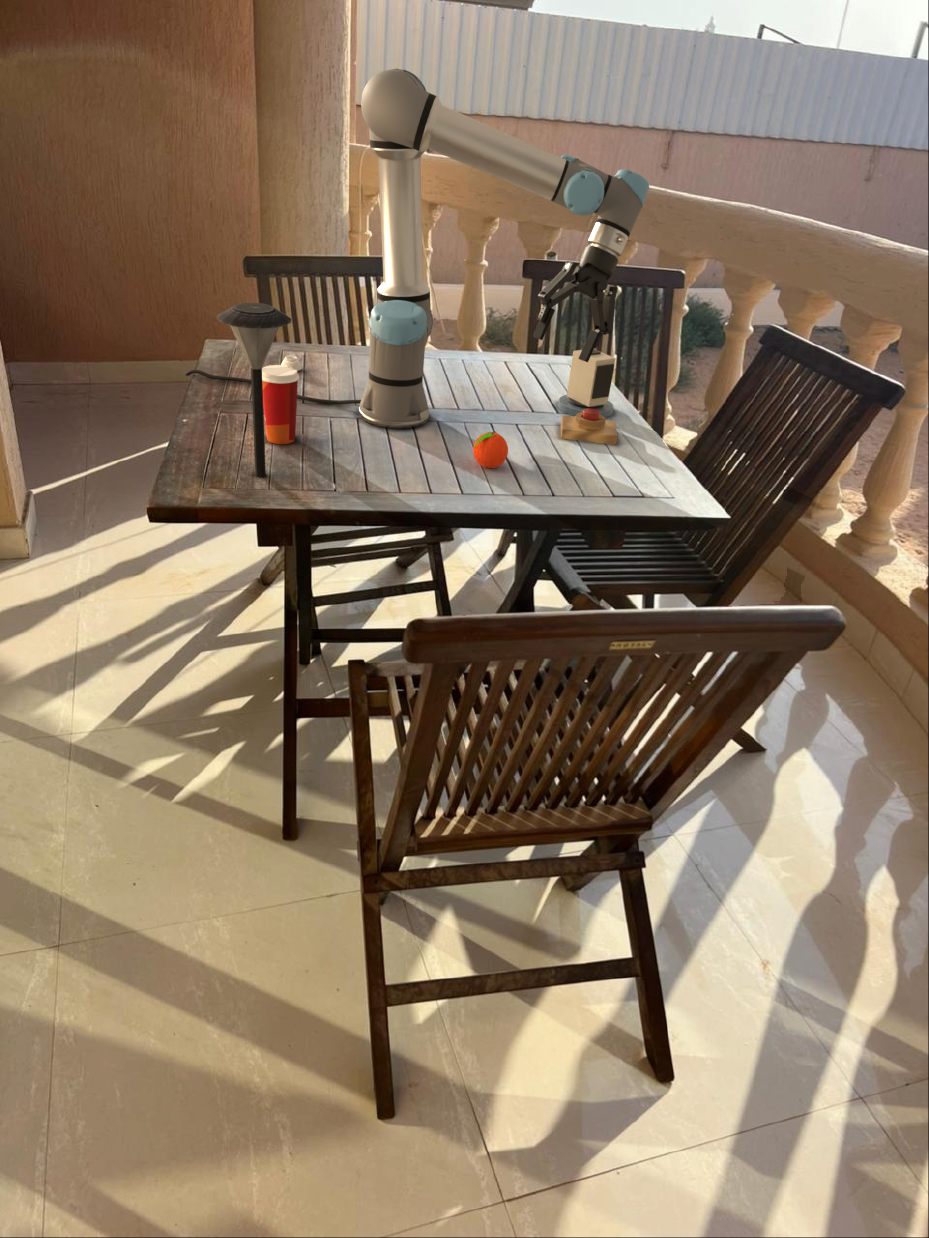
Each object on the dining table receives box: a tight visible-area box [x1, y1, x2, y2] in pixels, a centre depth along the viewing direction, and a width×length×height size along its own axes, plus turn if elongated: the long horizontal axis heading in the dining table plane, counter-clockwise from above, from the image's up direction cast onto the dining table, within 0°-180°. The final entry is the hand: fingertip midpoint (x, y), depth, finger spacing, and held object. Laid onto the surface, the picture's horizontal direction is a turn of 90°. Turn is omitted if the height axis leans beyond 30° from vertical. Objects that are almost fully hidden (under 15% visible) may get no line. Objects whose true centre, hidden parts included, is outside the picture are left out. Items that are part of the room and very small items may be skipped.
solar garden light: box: [216, 302, 293, 478], centre depth 153 cm, size 12×12×30 cm
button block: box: [560, 412, 619, 446], centre depth 193 cm, size 12×9×4 cm
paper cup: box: [262, 364, 300, 445], centre depth 173 cm, size 8×8×14 cm
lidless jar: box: [280, 355, 303, 372], centre depth 213 cm, size 5×3×5 cm
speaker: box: [566, 348, 617, 408], centre depth 204 cm, size 9×8×12 cm
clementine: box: [472, 431, 509, 469], centre depth 172 cm, size 8×7×7 cm
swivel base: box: [557, 394, 614, 418], centre depth 208 cm, size 13×13×2 cm
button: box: [582, 408, 600, 421], centre depth 192 cm, size 4×4×2 cm
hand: (560, 350), depth 188 cm, fingers open, 13 cm apart
